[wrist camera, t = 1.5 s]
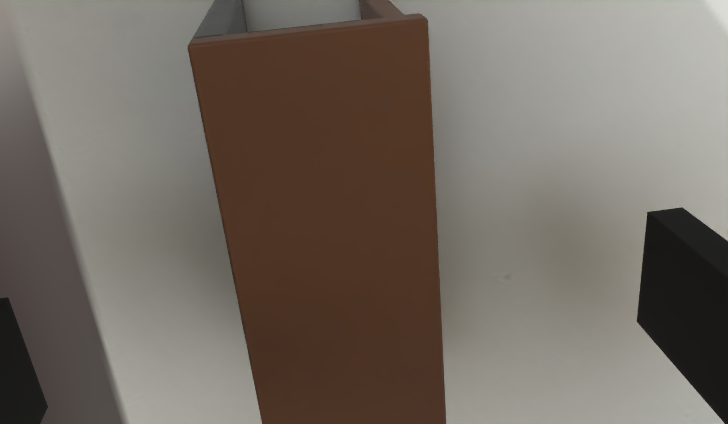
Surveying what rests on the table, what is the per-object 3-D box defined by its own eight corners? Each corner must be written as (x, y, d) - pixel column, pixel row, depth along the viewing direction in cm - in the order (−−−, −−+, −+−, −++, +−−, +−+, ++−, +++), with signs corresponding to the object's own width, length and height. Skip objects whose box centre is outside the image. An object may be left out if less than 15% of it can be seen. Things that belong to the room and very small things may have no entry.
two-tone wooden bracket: (278, 345, 22) (279, 512, 16) (217, -7, 17) (186, 45, 11) (403, 328, 22) (449, 485, 16) (376, -24, 18) (428, 18, 12)
